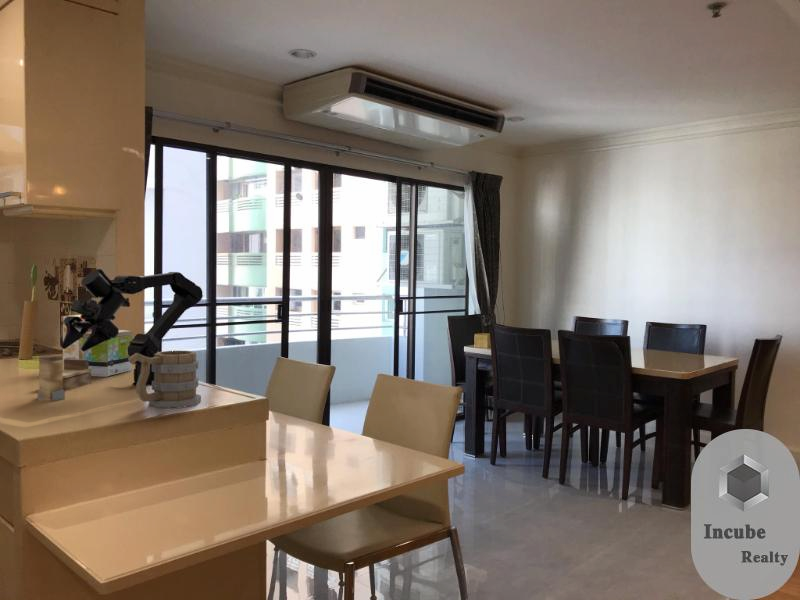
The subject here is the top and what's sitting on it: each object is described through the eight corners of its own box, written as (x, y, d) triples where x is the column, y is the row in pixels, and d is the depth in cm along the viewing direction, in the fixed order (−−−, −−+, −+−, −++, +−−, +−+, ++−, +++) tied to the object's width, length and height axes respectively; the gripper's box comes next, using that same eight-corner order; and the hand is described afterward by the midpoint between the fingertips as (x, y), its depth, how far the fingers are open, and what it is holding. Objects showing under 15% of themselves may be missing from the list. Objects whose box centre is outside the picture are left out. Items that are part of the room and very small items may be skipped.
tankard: (183, 396, 187) (183, 345, 186) (208, 403, 179) (208, 349, 178) (115, 407, 171) (115, 351, 171) (140, 415, 163) (140, 355, 163)
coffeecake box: (79, 371, 229) (79, 316, 228) (61, 370, 230) (61, 315, 229) (106, 365, 243) (106, 313, 242) (90, 364, 245) (89, 313, 244)
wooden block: (53, 396, 180) (52, 355, 179) (62, 397, 178) (62, 356, 178) (39, 398, 176) (39, 356, 176) (49, 400, 175) (48, 357, 174)
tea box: (108, 377, 218) (108, 333, 217) (81, 376, 219) (80, 332, 219) (133, 370, 233) (133, 329, 232) (107, 369, 234) (107, 328, 234)
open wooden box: (67, 385, 202) (66, 371, 202) (91, 386, 202) (91, 372, 201) (39, 393, 189) (39, 378, 189) (65, 393, 189) (65, 379, 188)
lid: (66, 370, 202) (66, 358, 202) (91, 371, 201) (91, 359, 201) (39, 377, 189) (39, 364, 189) (65, 378, 188) (65, 365, 188)
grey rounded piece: (53, 398, 182) (53, 387, 182) (70, 401, 179) (70, 389, 179) (31, 402, 176) (31, 390, 176) (48, 405, 173) (48, 393, 173)
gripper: (68, 289, 193) (33, 329, 184) (108, 290, 184) (73, 333, 175) (93, 313, 200) (60, 353, 191) (133, 316, 191) (100, 358, 182)
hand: (72, 349), depth 185 cm, fingers open, 9 cm apart
